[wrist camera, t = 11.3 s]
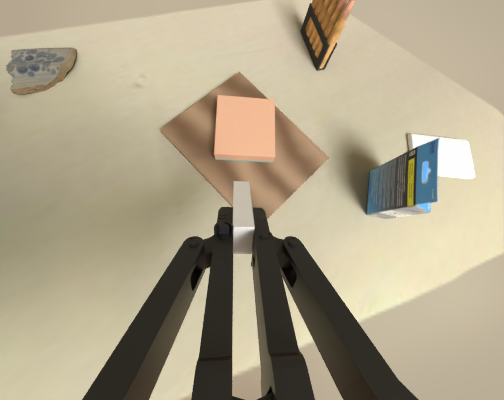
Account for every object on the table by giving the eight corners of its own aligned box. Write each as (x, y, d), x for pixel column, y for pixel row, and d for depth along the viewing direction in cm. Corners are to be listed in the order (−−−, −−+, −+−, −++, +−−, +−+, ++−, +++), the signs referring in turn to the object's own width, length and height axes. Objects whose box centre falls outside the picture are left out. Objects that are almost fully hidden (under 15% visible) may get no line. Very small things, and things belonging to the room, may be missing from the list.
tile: (275, 157, 30) (274, 99, 33) (214, 153, 30) (217, 94, 32) (272, 162, 33) (272, 108, 35) (215, 159, 32) (218, 104, 34)
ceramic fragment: (-1, 92, 30) (-3, 34, 31) (20, 103, 34) (19, 50, 34) (69, 90, 31) (67, 35, 32) (84, 101, 35) (82, 50, 35)
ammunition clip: (324, 69, 39) (363, -3, 27) (316, 71, 39) (352, -1, 27) (308, 30, 41) (337, -54, 29) (300, 31, 41) (327, -53, 29)
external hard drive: (465, 180, 37) (408, 174, 36) (459, 143, 39) (404, 136, 38) (476, 177, 36) (416, 171, 35) (468, 139, 37) (411, 132, 37)
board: (255, 230, 31) (255, 230, 30) (161, 132, 33) (159, 129, 32) (326, 159, 35) (329, 157, 34) (239, 76, 37) (239, 71, 36)
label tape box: (384, 220, 33) (469, 209, 21) (363, 214, 33) (436, 201, 21) (387, 175, 35) (466, 143, 23) (367, 170, 35) (436, 135, 23)
